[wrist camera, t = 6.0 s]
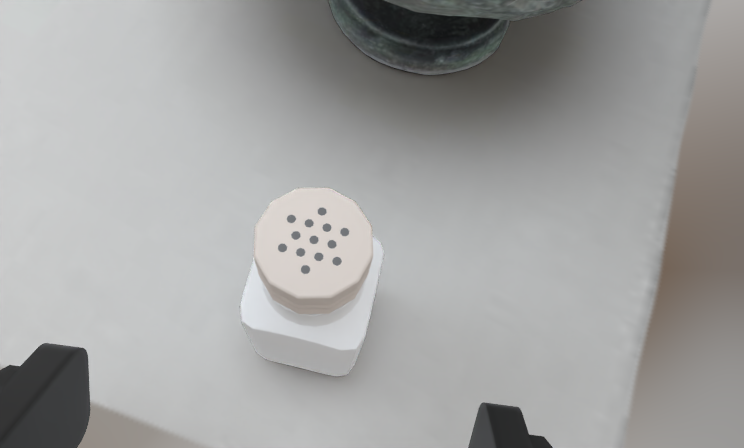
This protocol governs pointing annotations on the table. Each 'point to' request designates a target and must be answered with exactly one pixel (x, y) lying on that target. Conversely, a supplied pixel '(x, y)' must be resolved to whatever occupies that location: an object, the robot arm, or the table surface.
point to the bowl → (433, 29)
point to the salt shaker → (312, 281)
